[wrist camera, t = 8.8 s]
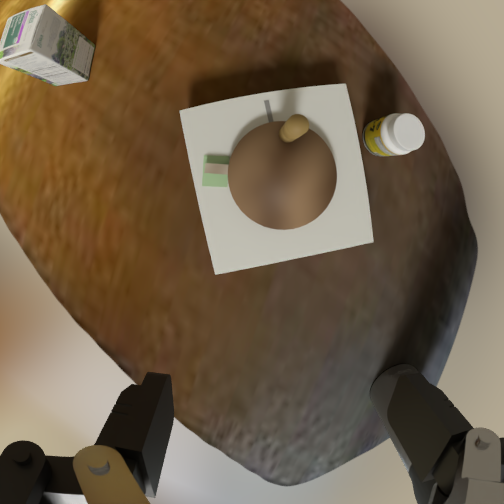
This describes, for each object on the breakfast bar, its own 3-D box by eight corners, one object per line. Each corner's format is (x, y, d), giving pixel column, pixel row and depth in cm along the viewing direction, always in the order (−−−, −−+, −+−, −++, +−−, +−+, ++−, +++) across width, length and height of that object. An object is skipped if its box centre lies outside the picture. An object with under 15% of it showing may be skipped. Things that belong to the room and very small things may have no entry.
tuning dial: (338, 131, 30) (363, 121, 23) (327, 233, 33) (348, 248, 26) (211, 115, 29) (202, 100, 23) (201, 221, 32) (190, 233, 25)
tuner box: (358, 233, 38) (373, 242, 33) (218, 262, 39) (215, 275, 34) (333, 94, 34) (345, 83, 29) (187, 118, 34) (179, 110, 29)
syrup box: (63, 51, 31) (5, 17, 17) (97, 44, 31) (44, 2, 17) (56, 86, 32) (-9, 62, 18) (90, 81, 32) (29, 49, 18)
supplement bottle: (380, 113, 35) (411, 101, 26) (400, 143, 36) (435, 138, 27) (354, 133, 35) (382, 124, 27) (375, 163, 36) (407, 162, 28)
